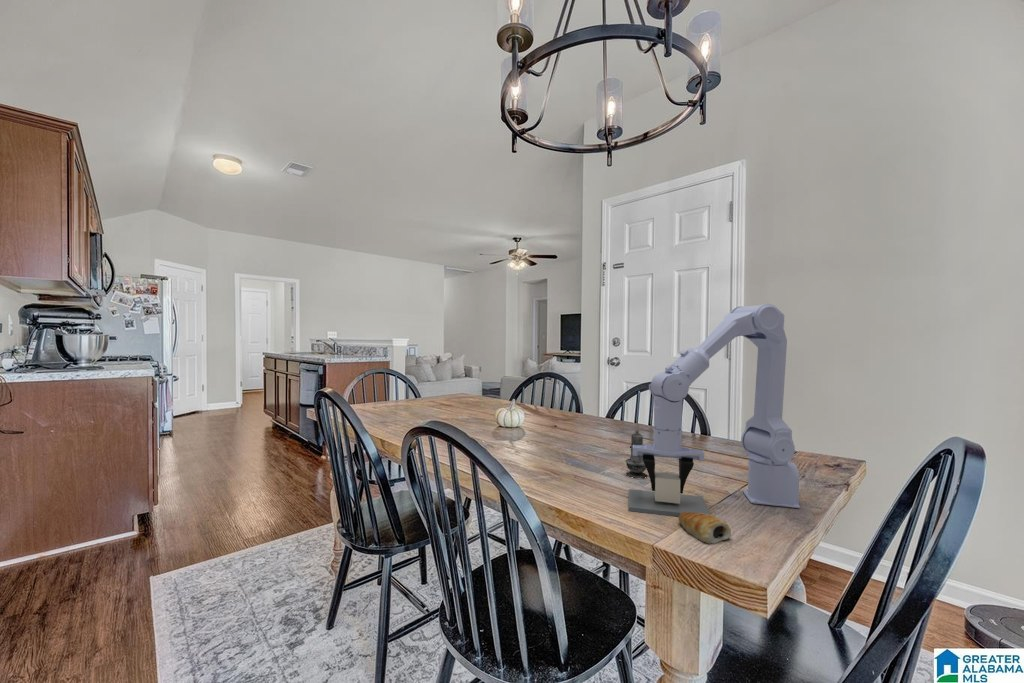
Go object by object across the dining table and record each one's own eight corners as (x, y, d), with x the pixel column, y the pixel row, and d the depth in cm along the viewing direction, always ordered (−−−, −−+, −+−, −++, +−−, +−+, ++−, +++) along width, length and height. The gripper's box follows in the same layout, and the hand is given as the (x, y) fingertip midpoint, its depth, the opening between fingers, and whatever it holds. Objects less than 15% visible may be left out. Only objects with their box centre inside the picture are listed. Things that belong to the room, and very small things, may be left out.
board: (702, 499, 96) (702, 496, 96) (711, 520, 85) (711, 516, 85) (628, 492, 100) (628, 489, 100) (628, 510, 89) (628, 507, 89)
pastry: (669, 524, 83) (669, 505, 83) (695, 520, 86) (696, 501, 86) (707, 547, 75) (707, 525, 75) (735, 541, 77) (736, 520, 77)
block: (677, 495, 94) (677, 472, 94) (680, 503, 90) (680, 480, 90) (653, 493, 96) (654, 470, 96) (655, 501, 91) (655, 477, 91)
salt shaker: (649, 479, 109) (650, 433, 109) (625, 478, 110) (626, 431, 110) (646, 472, 115) (647, 428, 114) (624, 471, 116) (625, 427, 116)
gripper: (700, 426, 94) (700, 487, 94) (632, 422, 98) (632, 481, 98) (706, 433, 87) (705, 499, 87) (633, 428, 91) (632, 491, 91)
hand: (666, 490), depth 92 cm, fingers closed on block, 5 cm apart
